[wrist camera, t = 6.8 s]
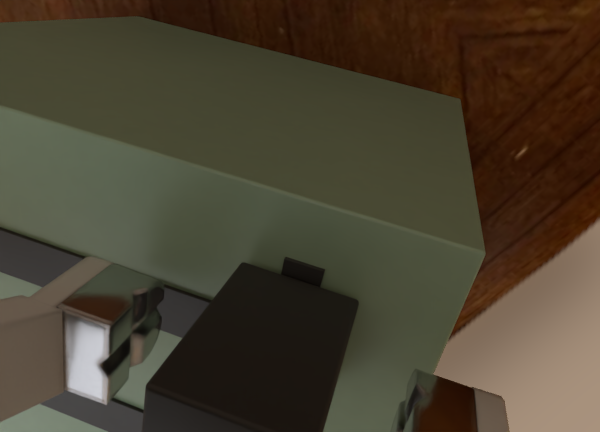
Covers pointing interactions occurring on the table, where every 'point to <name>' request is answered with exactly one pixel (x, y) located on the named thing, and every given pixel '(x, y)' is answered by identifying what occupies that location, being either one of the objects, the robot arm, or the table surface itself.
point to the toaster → (233, 194)
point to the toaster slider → (254, 359)
